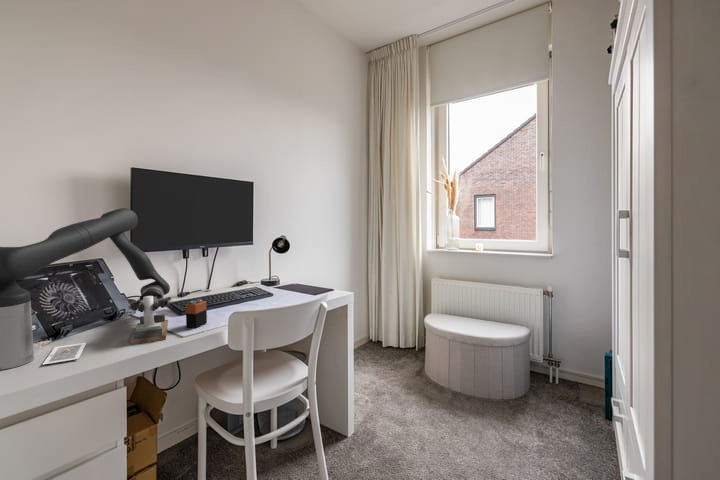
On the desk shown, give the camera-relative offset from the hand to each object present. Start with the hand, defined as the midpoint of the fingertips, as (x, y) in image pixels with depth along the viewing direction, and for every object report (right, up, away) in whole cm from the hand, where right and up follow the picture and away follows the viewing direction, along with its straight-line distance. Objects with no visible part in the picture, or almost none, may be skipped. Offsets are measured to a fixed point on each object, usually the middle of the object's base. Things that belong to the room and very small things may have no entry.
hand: (147, 308), depth 114 cm
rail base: (-4, -11, +8) cm, 14 cm away
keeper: (-1, -8, +3) cm, 9 cm away
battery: (+8, -10, +17) cm, 21 cm away
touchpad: (-18, -12, -11) cm, 24 cm away
